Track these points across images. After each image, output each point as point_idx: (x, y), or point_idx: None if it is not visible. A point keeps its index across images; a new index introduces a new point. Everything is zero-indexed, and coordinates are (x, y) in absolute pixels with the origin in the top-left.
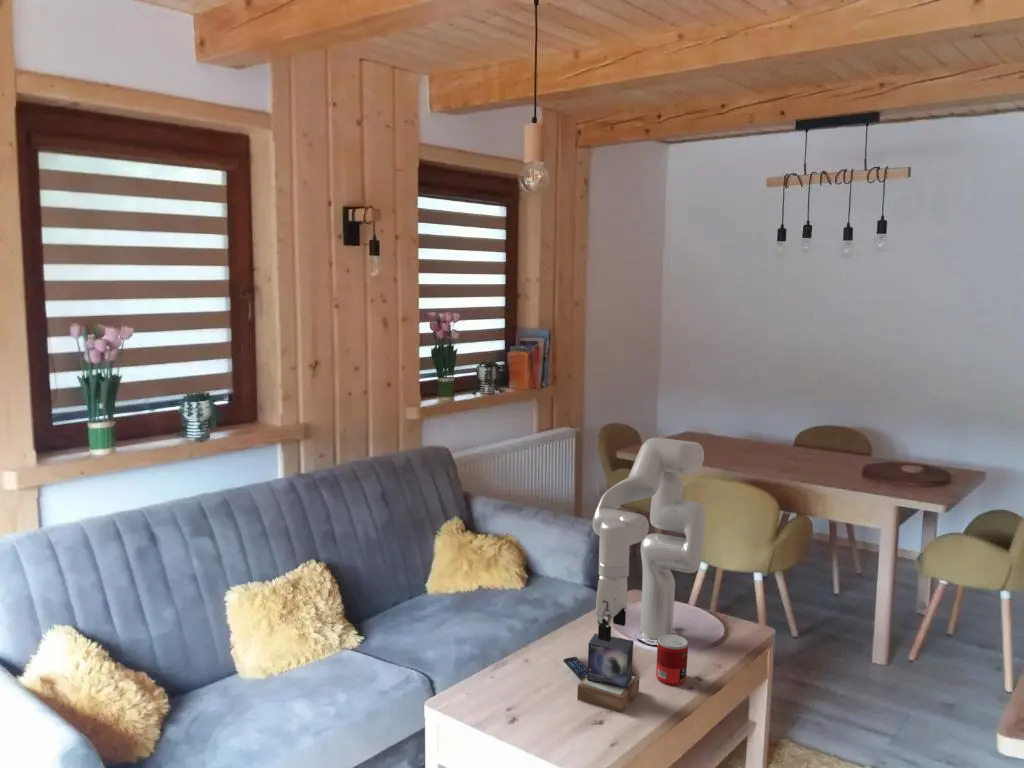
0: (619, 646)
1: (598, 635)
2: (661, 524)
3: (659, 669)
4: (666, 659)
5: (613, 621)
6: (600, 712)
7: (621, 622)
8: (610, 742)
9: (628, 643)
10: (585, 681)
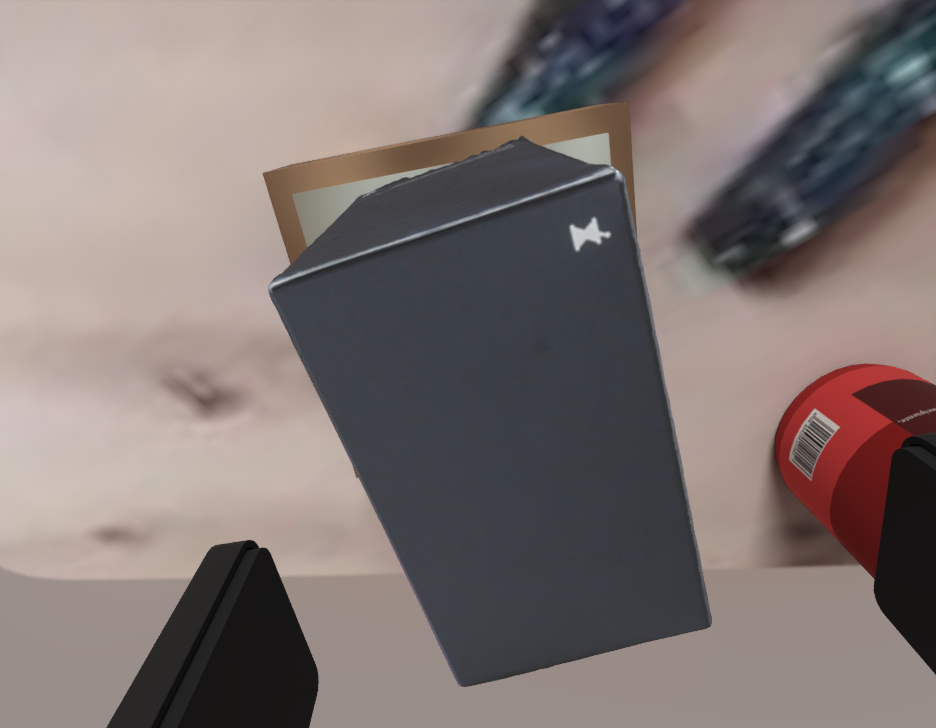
0: (481, 603)
1: (188, 590)
2: None
3: (830, 440)
4: (869, 537)
5: (924, 465)
6: (288, 349)
7: (917, 608)
8: (117, 521)
9: (609, 632)
10: (337, 196)
